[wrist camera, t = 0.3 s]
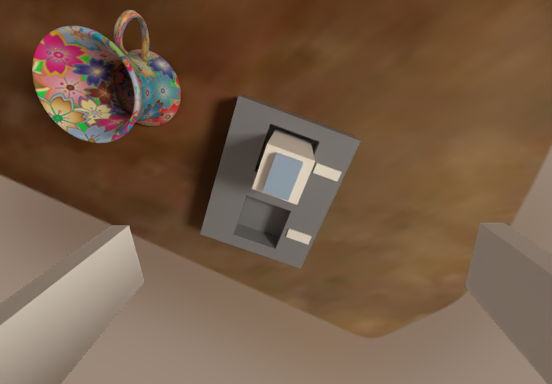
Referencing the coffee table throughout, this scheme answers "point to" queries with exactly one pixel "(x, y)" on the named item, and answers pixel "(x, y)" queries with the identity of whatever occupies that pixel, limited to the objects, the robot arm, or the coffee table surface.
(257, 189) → the plug
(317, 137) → the panel
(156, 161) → the coffee table surface
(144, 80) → the mug
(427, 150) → the coffee table surface
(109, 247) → the robot arm
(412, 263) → the coffee table surface
